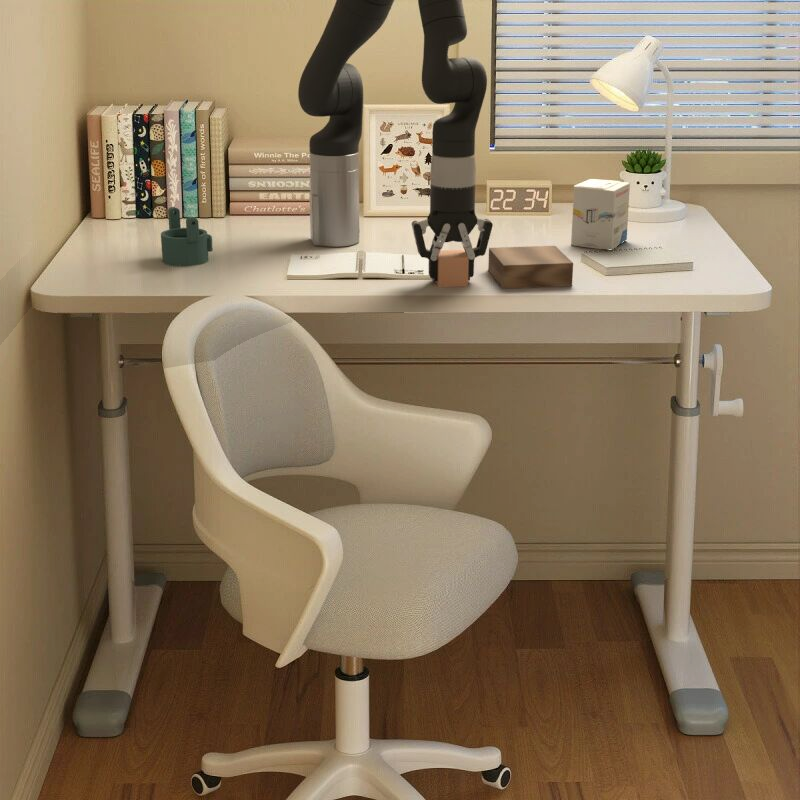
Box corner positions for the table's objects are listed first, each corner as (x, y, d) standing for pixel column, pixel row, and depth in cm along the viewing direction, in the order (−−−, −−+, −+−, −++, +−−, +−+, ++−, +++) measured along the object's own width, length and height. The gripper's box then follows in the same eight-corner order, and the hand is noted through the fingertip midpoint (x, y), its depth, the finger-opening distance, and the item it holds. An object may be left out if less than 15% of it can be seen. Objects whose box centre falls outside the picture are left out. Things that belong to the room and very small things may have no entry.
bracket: (196, 268, 223) (194, 219, 220) (151, 263, 226) (148, 214, 223) (220, 257, 231) (218, 209, 228) (176, 252, 234) (174, 204, 231)
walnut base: (503, 288, 211) (503, 265, 210) (488, 269, 222) (489, 247, 221) (572, 285, 213) (573, 263, 212) (554, 267, 224) (555, 245, 223)
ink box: (586, 236, 246) (590, 177, 242) (627, 241, 242) (631, 181, 238) (569, 245, 239) (572, 184, 235) (611, 251, 235) (615, 189, 231)
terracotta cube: (439, 286, 212) (439, 258, 210) (434, 278, 217) (434, 250, 215) (467, 285, 213) (468, 257, 211) (462, 277, 218) (463, 249, 216)
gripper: (413, 187, 204) (413, 287, 210) (499, 184, 206) (496, 284, 212) (407, 178, 211) (406, 275, 217) (490, 176, 213) (487, 272, 219)
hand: (451, 279), depth 215 cm, fingers closed on terracotta cube, 5 cm apart
